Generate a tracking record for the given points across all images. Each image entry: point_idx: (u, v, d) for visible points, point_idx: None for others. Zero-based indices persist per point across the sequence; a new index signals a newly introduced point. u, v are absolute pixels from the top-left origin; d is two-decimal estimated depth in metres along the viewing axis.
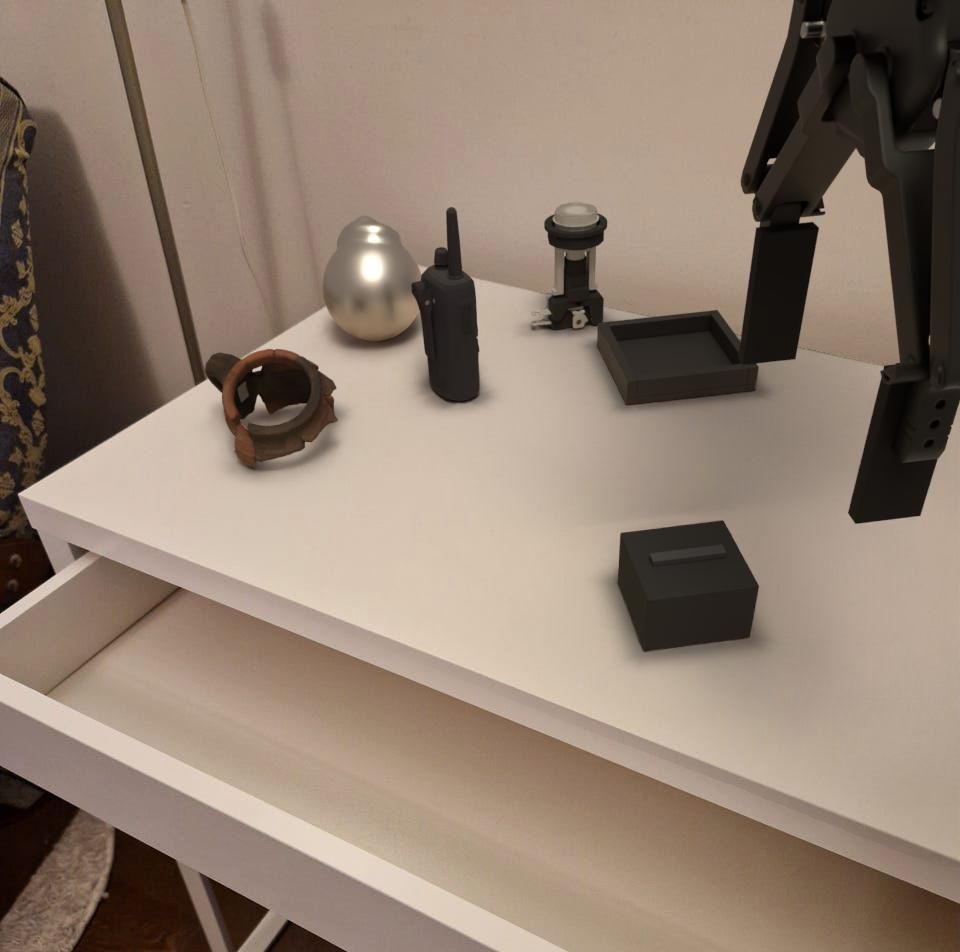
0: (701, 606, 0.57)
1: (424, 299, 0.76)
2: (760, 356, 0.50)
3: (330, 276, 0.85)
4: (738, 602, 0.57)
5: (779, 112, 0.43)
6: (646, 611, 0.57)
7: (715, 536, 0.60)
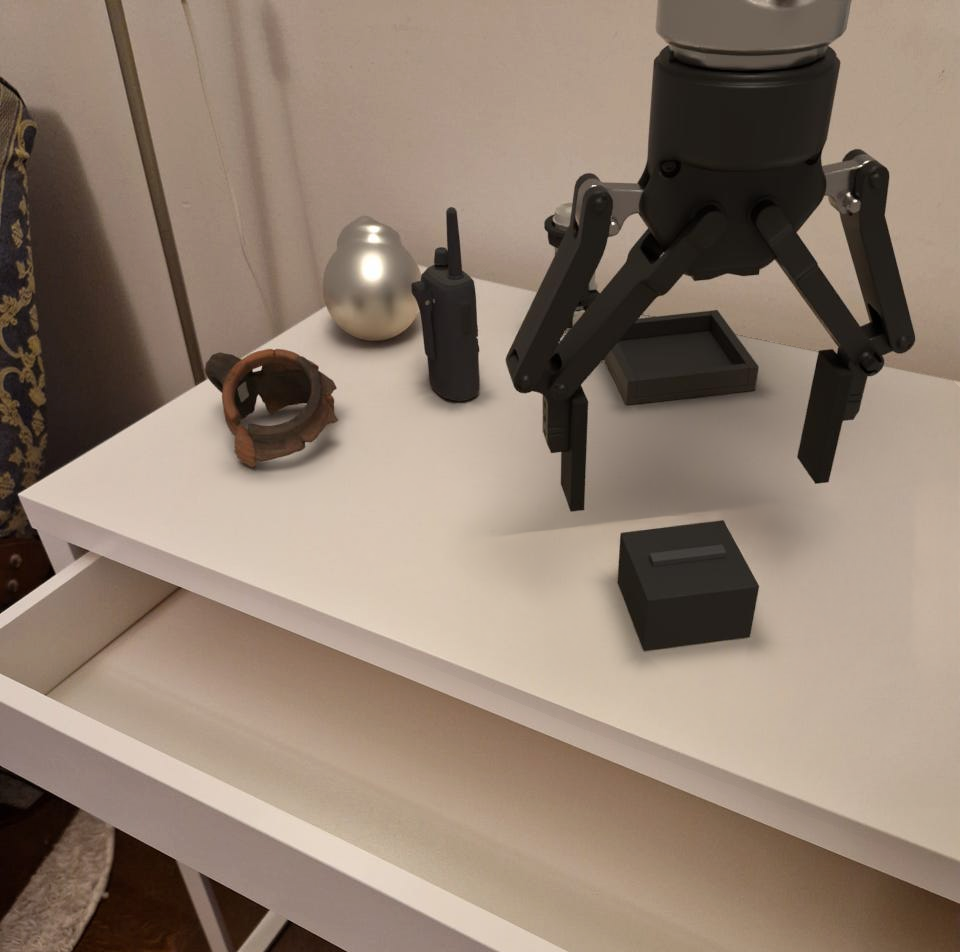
0: (701, 606, 0.57)
1: (424, 298, 0.76)
2: None
3: (330, 276, 0.85)
4: (738, 602, 0.57)
5: None
6: (646, 611, 0.57)
7: (715, 536, 0.60)
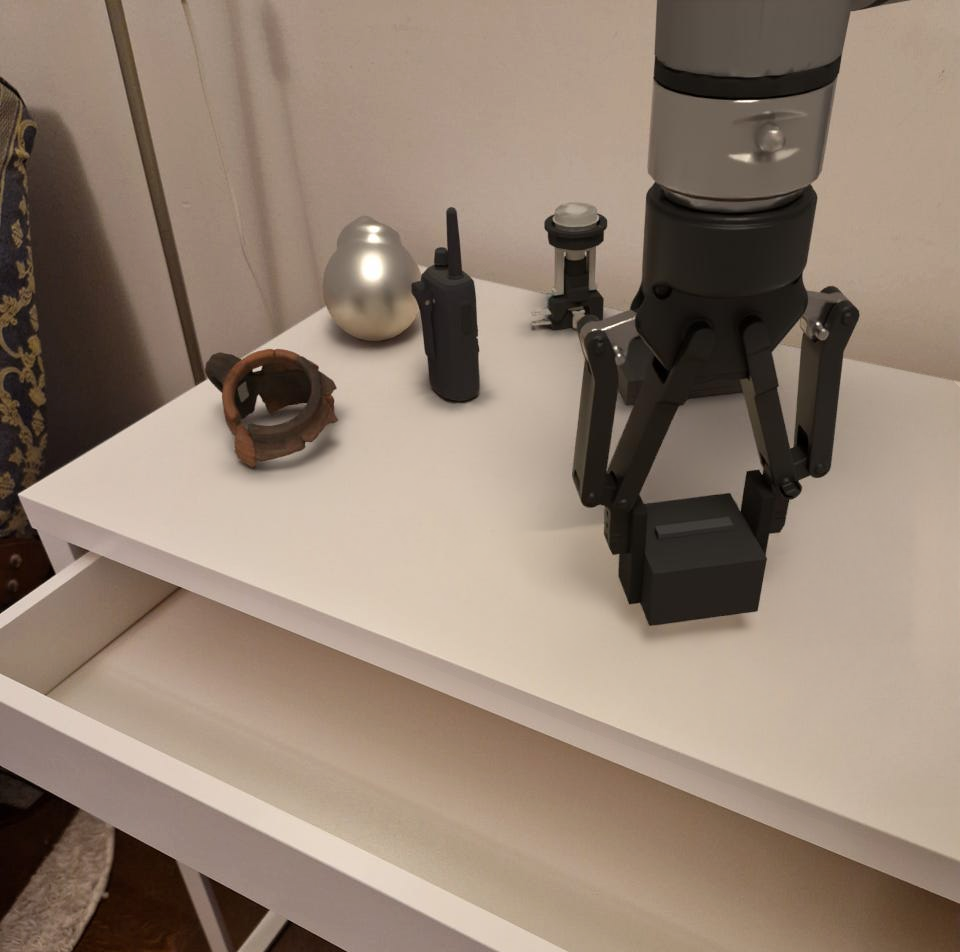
0: (707, 579, 0.56)
1: (424, 298, 0.76)
2: None
3: (330, 276, 0.85)
4: (745, 575, 0.56)
5: None
6: (652, 585, 0.56)
7: (722, 509, 0.59)
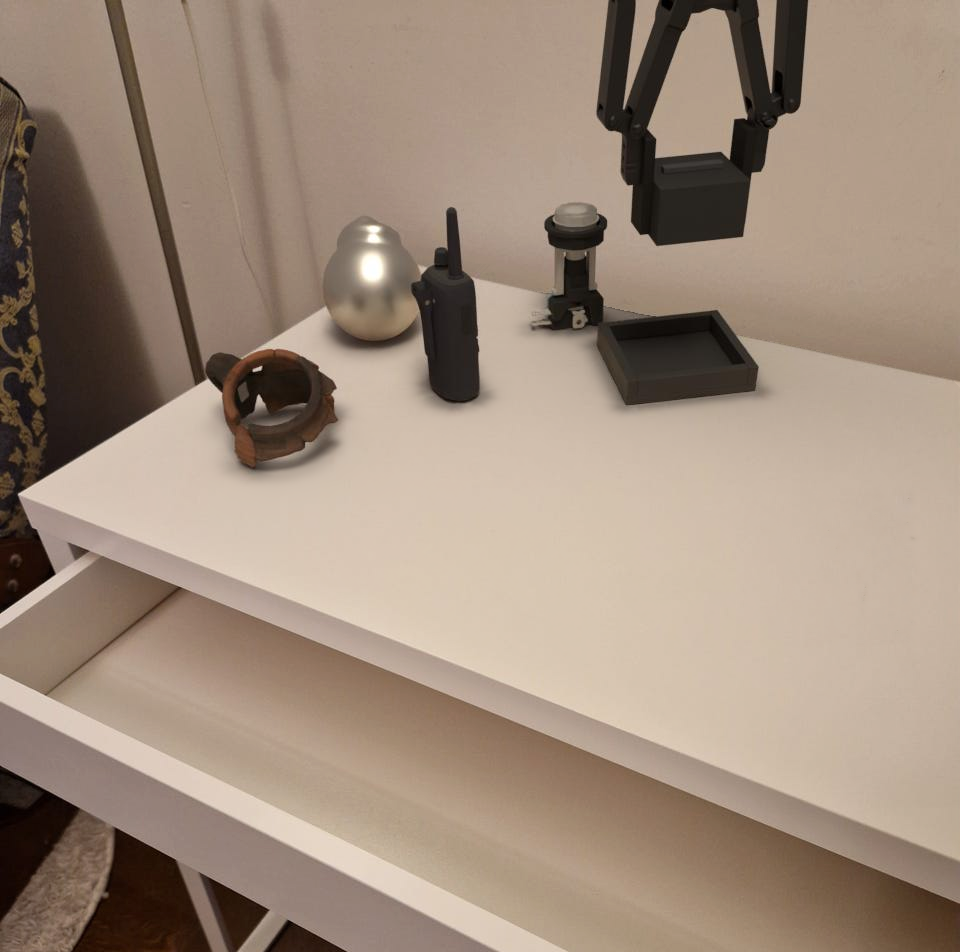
0: (703, 199, 0.70)
1: (424, 298, 0.76)
2: None
3: (330, 276, 0.85)
4: (733, 197, 0.71)
5: (629, 50, 0.65)
6: (659, 202, 0.70)
7: (715, 159, 0.74)
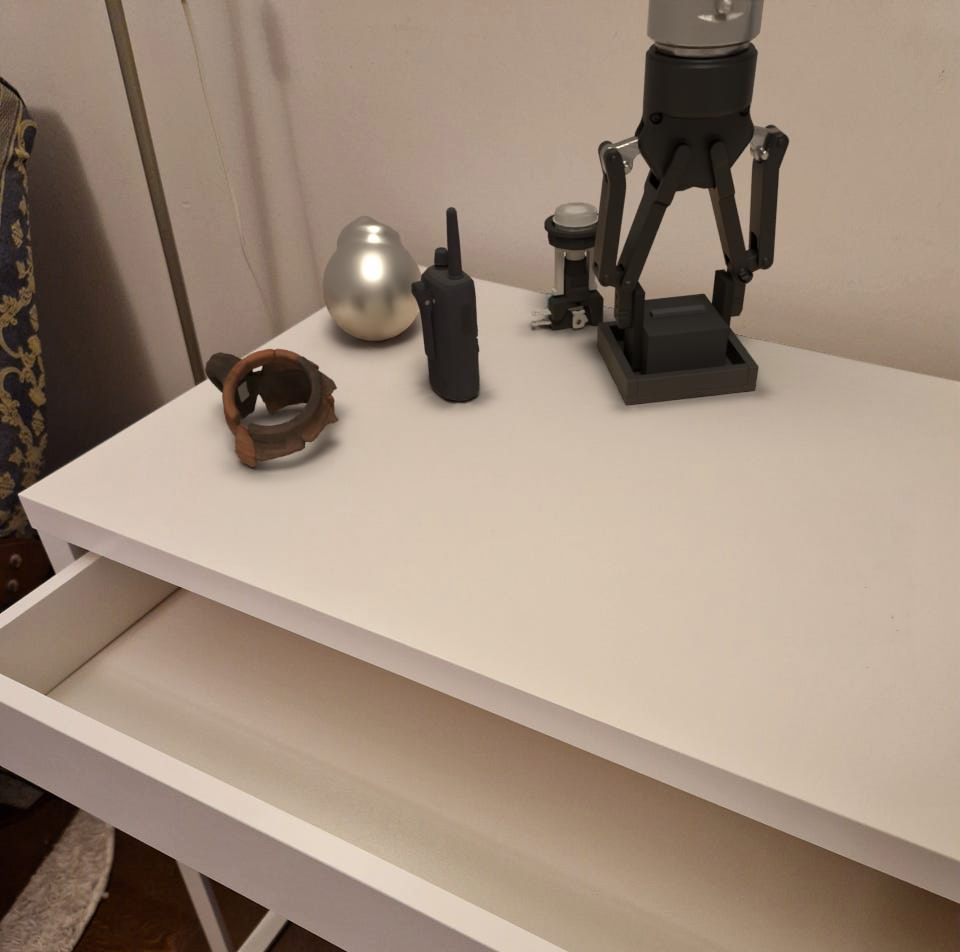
0: (687, 343, 0.79)
1: (424, 298, 0.76)
2: None
3: (330, 276, 0.85)
4: (713, 341, 0.79)
5: None
6: (648, 346, 0.79)
7: (698, 302, 0.82)
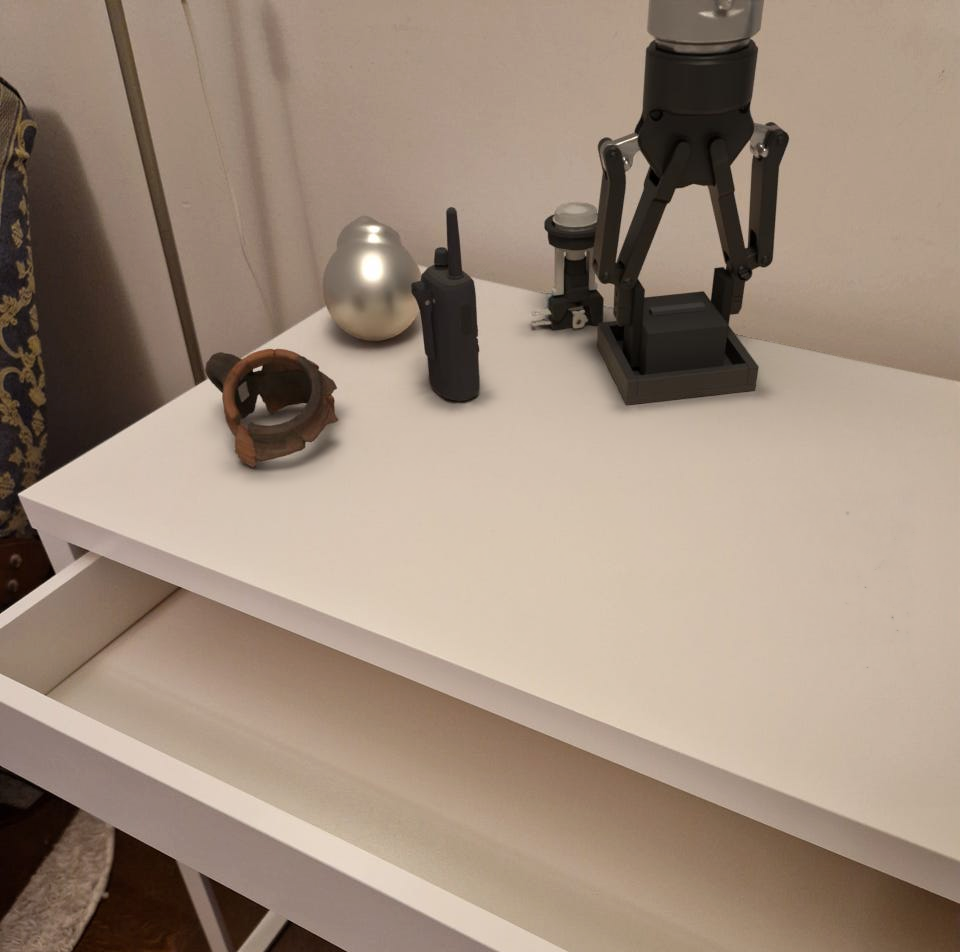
0: (686, 341, 0.79)
1: (424, 298, 0.76)
2: None
3: (330, 276, 0.85)
4: (713, 338, 0.79)
5: (620, 219, 0.74)
6: (647, 344, 0.79)
7: (697, 299, 0.82)
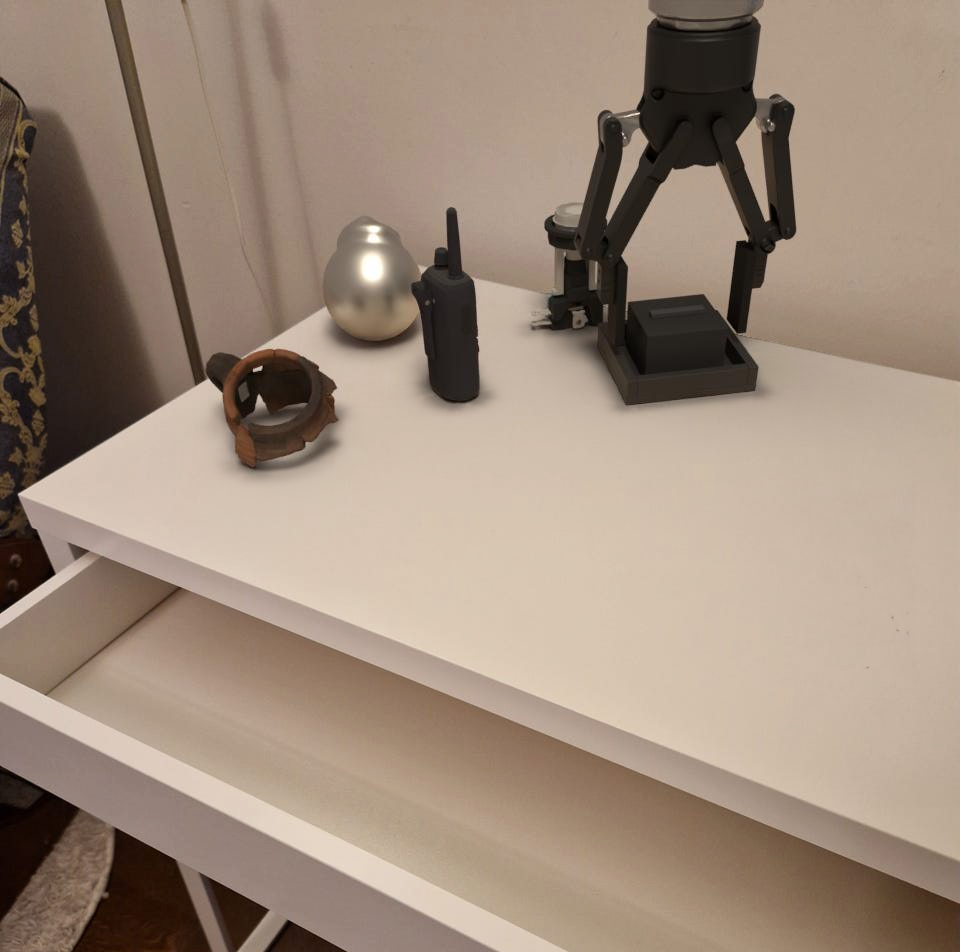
0: (686, 343, 0.79)
1: (424, 298, 0.76)
2: None
3: (330, 276, 0.85)
4: (712, 341, 0.80)
5: None
6: (646, 346, 0.79)
7: (697, 302, 0.82)
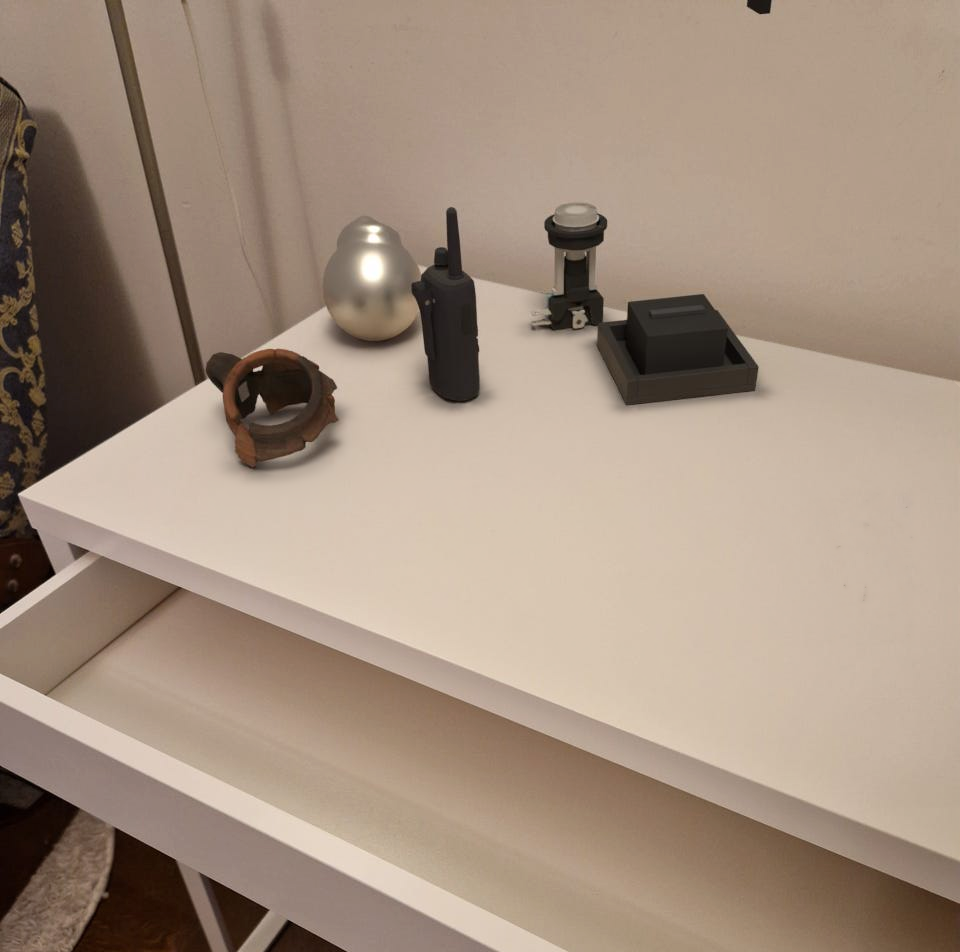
0: (686, 343, 0.79)
1: (424, 298, 0.76)
2: None
3: (330, 276, 0.85)
4: (712, 341, 0.80)
5: None
6: (646, 346, 0.79)
7: (697, 302, 0.82)
